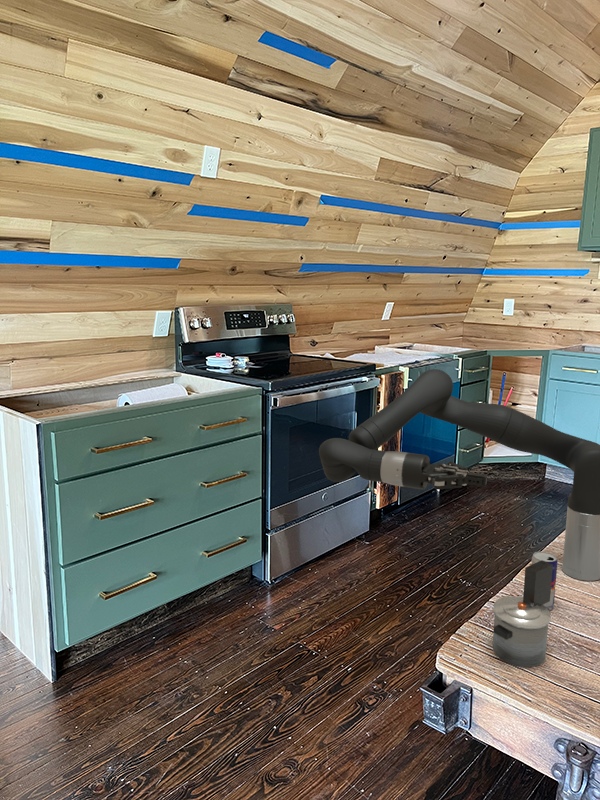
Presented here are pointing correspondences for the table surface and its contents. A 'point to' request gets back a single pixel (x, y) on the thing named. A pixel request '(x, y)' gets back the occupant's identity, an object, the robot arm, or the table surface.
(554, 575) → the energy drink
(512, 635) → the pressure cooker pot
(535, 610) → the pressure cooker lid
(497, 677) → the table surface
